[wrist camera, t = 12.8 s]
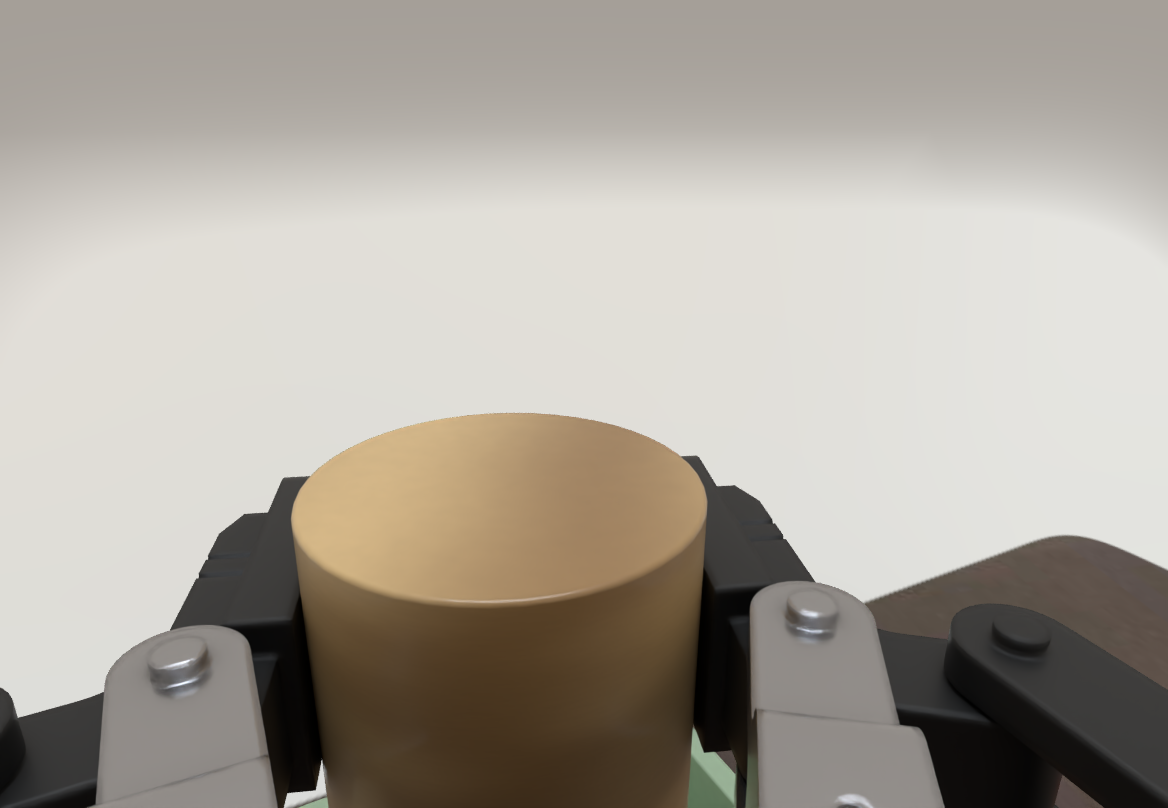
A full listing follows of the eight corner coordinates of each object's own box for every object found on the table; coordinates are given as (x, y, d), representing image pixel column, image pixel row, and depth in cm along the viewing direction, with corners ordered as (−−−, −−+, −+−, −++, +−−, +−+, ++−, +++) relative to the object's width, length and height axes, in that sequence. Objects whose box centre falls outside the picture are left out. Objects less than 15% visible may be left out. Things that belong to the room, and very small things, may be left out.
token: (307, 1156, 10) (207, 587, 8) (410, 850, 14) (370, 404, 12) (674, 1199, 10) (718, 617, 7) (674, 872, 14) (701, 418, 11)
